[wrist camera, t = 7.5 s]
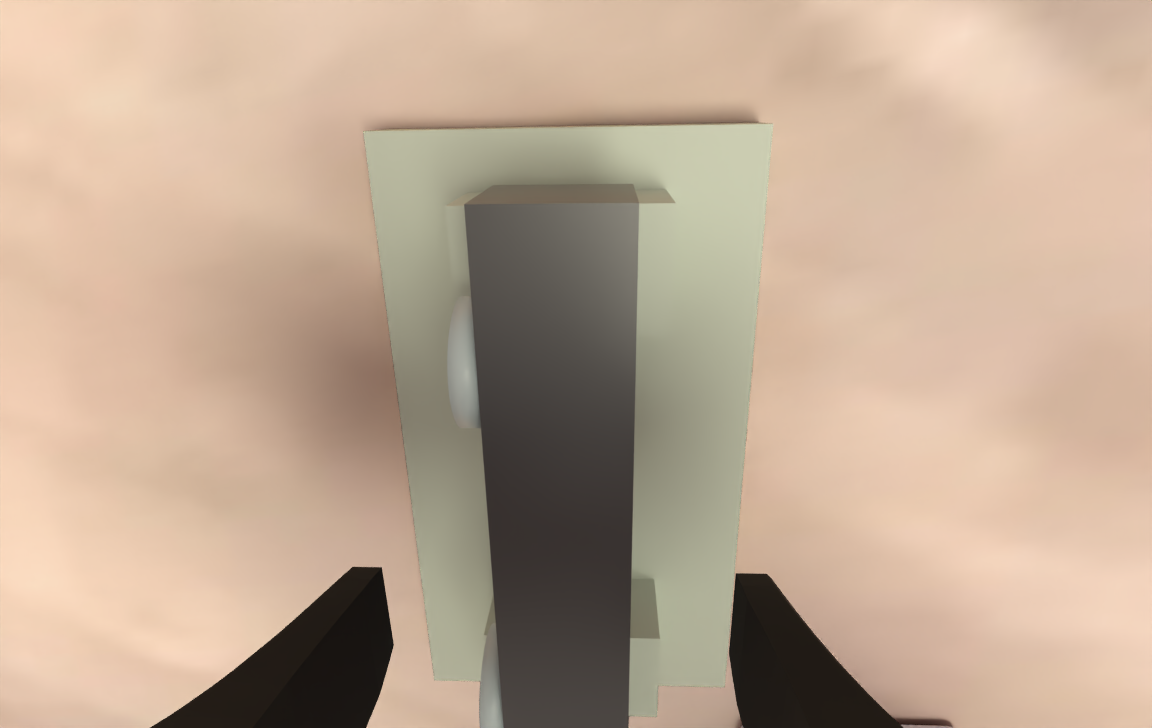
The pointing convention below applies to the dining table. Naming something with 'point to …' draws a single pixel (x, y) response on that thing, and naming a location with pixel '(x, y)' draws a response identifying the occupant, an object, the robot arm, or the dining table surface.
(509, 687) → the bar
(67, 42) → the dining table surface
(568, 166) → the stand
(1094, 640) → the dining table surface
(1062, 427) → the dining table surface
